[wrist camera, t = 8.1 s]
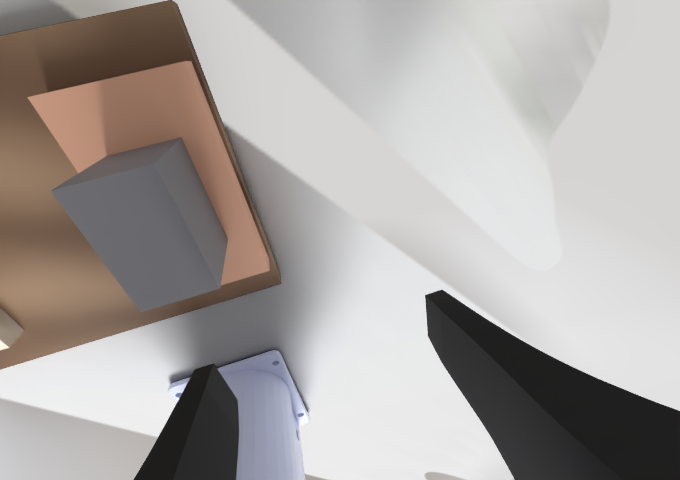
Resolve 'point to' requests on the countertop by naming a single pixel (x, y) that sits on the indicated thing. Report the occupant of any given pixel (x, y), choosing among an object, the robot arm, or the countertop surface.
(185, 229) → the pink grey stepped block
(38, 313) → the board
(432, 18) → the countertop surface
